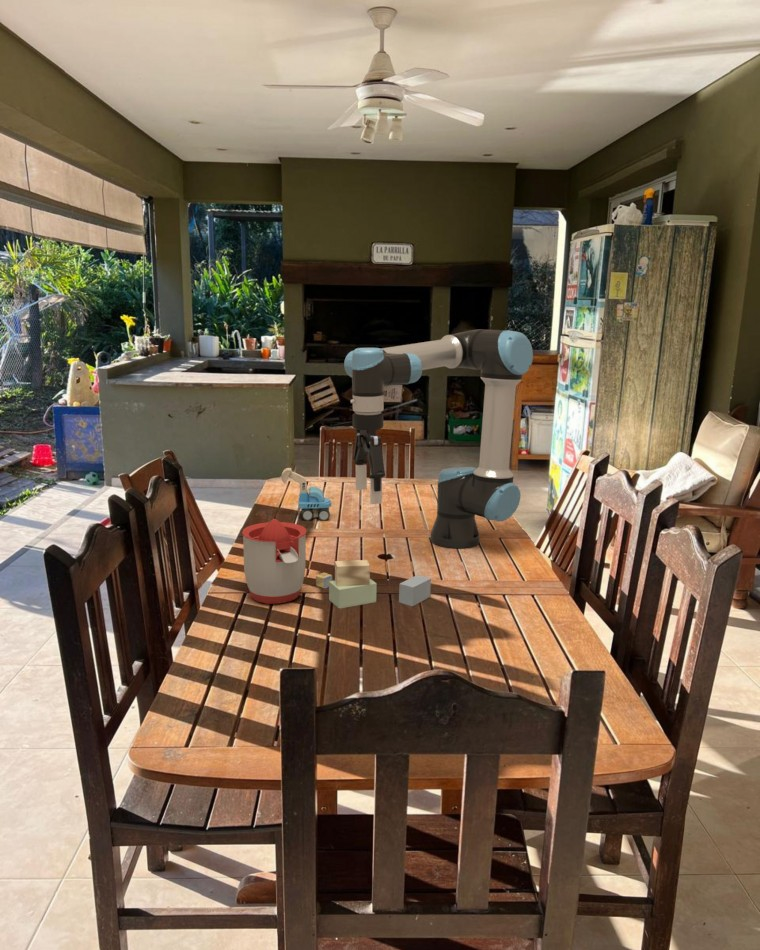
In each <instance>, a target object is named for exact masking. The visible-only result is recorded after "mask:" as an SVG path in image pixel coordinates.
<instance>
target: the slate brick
mask: <svg viewBox="0 0 760 950" xmlns="http://www.w3.org/2000/svg"><path fill="white" fill-rule="evenodd" d="M431 582H432V578H431V577H427V576H424V575H419V574H416V575H415V576H412V577H410V578H408V579H406V580H405V581H402V582H400V583H399V586H398V588H399V589H398V590H399V591H398V603H400V604H403V605H405V606H409V607H414V606H416V605H418V604H420V603H422V602H423V601H425V600H427V599H428V598H431V586H432V585H431V584H432V583H431Z"/></svg>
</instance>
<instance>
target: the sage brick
mask: <svg viewBox="0 0 760 950" xmlns="http://www.w3.org/2000/svg"><path fill="white" fill-rule="evenodd" d="M377 586H378V585H377V582H375V581H374V580H373V579H371V578H370V585H358V586H337V585H336V582H335V580H332V581H329V587H328V596H329V597H328V600H329V601H330V602H331V603H332V604H333V605H334V606H335V607H336V608H338V609H345V608H348V607H355V606H362V605H367V604H372V603H377Z"/></svg>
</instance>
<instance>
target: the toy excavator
mask: <svg viewBox="0 0 760 950" xmlns="http://www.w3.org/2000/svg"><path fill="white" fill-rule="evenodd" d="M289 478H290V479H292V480H293V481H295V482H297V483H298V485H299V494H298V495H299V496H298V504H297V505H298V509H300V510H301V512H300V513H301V518H302V520H304V521H306V522H309V521H311V520H313V518H318V520H320V521H323V522H327V520H329V519H330V516H331V513H330V508H331V507H332V499H330V498H328V497H325V494H324V492H323V490H322V489H321V488H319V487H317V486H310V487H309V488H308V485H307V480H306V479H307V478H306V477H305V476H303V475H301V474H299V473H297V472H295V471H293V470H292V467H287V468H284V469H283V471H282V473H281V481H282V483H284V484H287V482H288V480H289Z"/></svg>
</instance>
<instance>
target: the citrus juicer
mask: <svg viewBox="0 0 760 950" xmlns="http://www.w3.org/2000/svg"><path fill="white" fill-rule="evenodd" d="M307 533H308V532H307V529H306V527H304V526H302V525H300V524H297V523H292V522H286V521H285V522H284V521H279V520H278V519H276V518H272V519H271V520H270V521H268V522H262V523H261V522H260V523H255V524H251V525H249V526H247V527H245V528H243V530H242V532H241V534H242V537H243V538H242V541H243V543H242V546H243V547H242V548H243V571H244V577H245V581H246V584H247V589H248V592H249V594H250V596H251V598H252V599H253V600H255V601H256V602H259V603H263V604H266V605H273V604H283V603H289V602H292V601H294V600H296V599H297V598H298V597H299V595H300V593H301V590H302V587H303V583H304V580H305V574H306V564H307V563H306V560H307V559H306V555H307V553H306V552H307V551H306V544H307V543H306V540H307V539H306V538H307V536H306V534H307Z"/></svg>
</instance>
